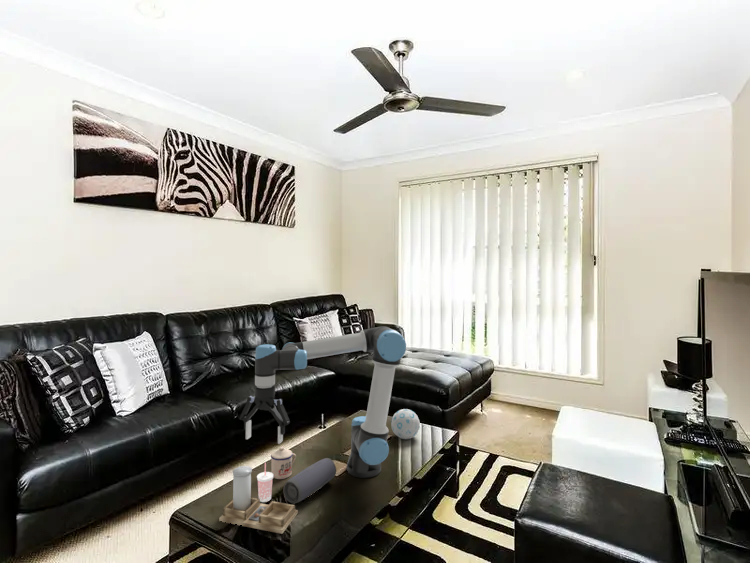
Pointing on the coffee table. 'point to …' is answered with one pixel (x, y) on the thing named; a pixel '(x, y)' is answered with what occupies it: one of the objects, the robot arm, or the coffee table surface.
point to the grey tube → (242, 488)
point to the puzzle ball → (405, 424)
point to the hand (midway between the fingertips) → (264, 440)
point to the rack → (261, 515)
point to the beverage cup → (265, 485)
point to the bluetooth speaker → (309, 480)
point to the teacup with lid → (282, 463)
